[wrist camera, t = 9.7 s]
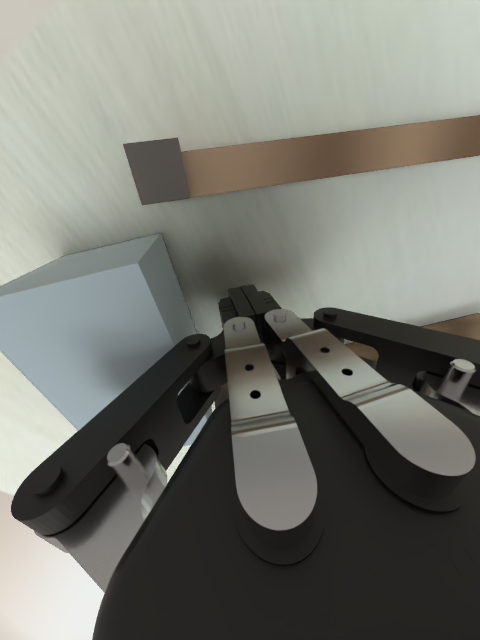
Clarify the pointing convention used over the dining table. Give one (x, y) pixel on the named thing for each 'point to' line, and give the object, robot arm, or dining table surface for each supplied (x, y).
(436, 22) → the dining table surface
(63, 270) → the slate block
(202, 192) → the chute
